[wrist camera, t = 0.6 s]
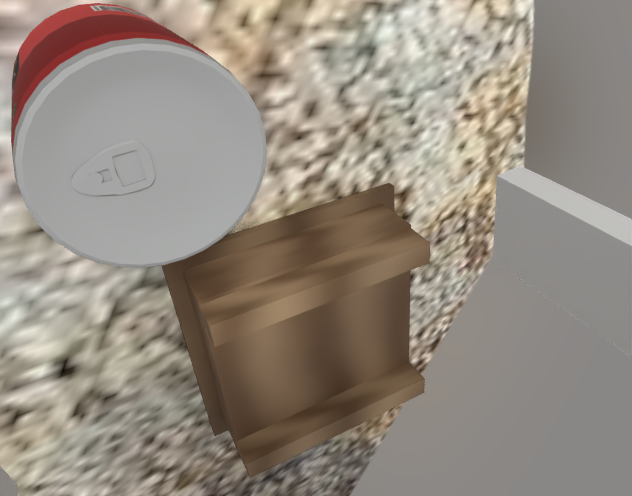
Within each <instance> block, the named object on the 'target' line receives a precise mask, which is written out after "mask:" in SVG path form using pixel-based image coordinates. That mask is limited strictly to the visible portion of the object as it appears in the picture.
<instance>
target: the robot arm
mask: <svg viewBox="0 0 632 496" xmlns="http://www.w3.org/2000/svg"><path fill="white" fill-rule="evenodd" d="M493 260H494V261H495V262H497V263H498V264H499V265H501V266H502V267H504V268H505V269H507V270H508V271H509V272H511V273H512V274H514V275H515V276H516V277H518V278H519V279H521V280H522V281H524V282H525V283H526V284H528V285H529V286H531V287H532V288H533V289H535V290H536V291H538V292H539V293H540V294H542V295H543V296H545V297H546V298H548V299H549V300H551V301H552V302H553V303H555V304H556V305H558V306H559V307H560V308H562V309H564V310H565V311H566V312H568V313H569V314H570V315H572V316H573V317H574V318H576V319H577V320H579V321H580V322H582V323H583V324H584V325H586V326H587V327H589V328H590V329H591V330H593V331H594V332H596V333H597V334H599V335H600V336H601V337H603V338H604V339H606V340H607V341H608V342H610V343H611V344H613V345H614V346H616V347H617V348H619V349H620V350H621V351H623V352H624V353H626V354H627V355H628V356H630V357H631V358H632V219H630V218H628V217H626V216H624V215H621V214H620V213H618V212H615V211H613V210H611V209H609V208H607V207H605V206H603V205H601V204H599V203H597V202H594V201H592V200H590V199H588V198H586V197H584V196H582V195H580V194H578V193H576V192H573V191H571V190H570V189H567V188H565V187H563V186H561V185H559V184H557V183H555V182H553V181H551V180H549V179H547V178H544V177H542V176H540V175H538V174H536V173H534V172H532V171H530V170H527V169H526V168H524V167H522V166H519V167H516V168H514V169H512V170H509V171H507V172H504V173H502V174H500V175H497V187H496V207H495V226H494V246H493ZM0 496H17V484H16V483H15V482H14V481H13V480H12V479H11V478H10V477H9V475H8V474H7V473H6V472H5V471H4V470H3V469H2V468H1V467H0Z"/></svg>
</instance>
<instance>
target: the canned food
mask: <svg viewBox="0 0 632 496" xmlns="http://www.w3.org/2000/svg"><path fill="white" fill-rule="evenodd" d="M11 143H12V155H13V164H14V172H15V178H16V181H17V183H18V186H19V189H20V192H21V194H22V197H23V199H24V202H25V205H26V207H27V208H28V210H29V211H30V213H31V214H32V216H33V217H34V219H35V220H36V222H37V223H38V225H39V226H40V227H41V228H42V229H43V230H44V231H45V232H47V233H48V234H49V235H50V236H51V237H52V238H53V239H54V240H55V241H56V242H58V243H59V244H61V245H62V246H64V247H65V248H67V249H69V250H70V251H72V252H73V253H75V254H77V255H80V256H82V257H85V258H87V259H90V260H92V261H95V262H98V263H103V264H108V265H113V266H118V267H138V268H143V267H151V266H159V265H165V264H169V263H172V262H176V261H179V260H183V259H186V258H188V257H190V256H192V255H195V254H197V253H199V252H201V251H203V250H205V249H207V248H208V247H210V246H211V245H213V244H214V243H216V242H217V241H219V240H220V239H222V238H223V237H224V236H225V235H226V234H227V233H228V232H229V231H230V230H231V229H233V228H234V227H235V226H236V225H237V224H238V222H239V221H240V220H241V219H242V217H243V216H244V215H245V213H246V212H247V211H248V210H249V208H250V206H251V204H252V202H253V201H254V199H255V197H256V195H257V193H258V191H259V188H260V185H261V182H262V179H263V175H264V172H265V164H266V155H267V148H266V137H265V130H264V127H263V124H262V120H261V117H260V114H259V111H258V109H257V108H256V106H255V104H254V102H253V100H252V98H251V97H250V95H249V93H248V92H247V91H246V90H245V88H244V87H243V86H242V85H241V84H240V83H239V81H238V80H237V79H236V78H235V77H234V76H233V74H232V73H231V72H230V71H229V70H227V69H226V68H225V67H224V66H222V65H221V64H220V63H218V62H217V61H216V60H214V59H213V58H212V57H210V56H209V55H208V54H206V53H205V52H204V51H202V50H201V49H199V48H197V47H196V46H194V45H193V44H191V43H189V42H188V41H186V40H185V39H183V38H181V37H180V36H178V35H177V34H175V33H173V32H172V31H170V30H169V29H167V28H165V27H164V26H162V25H160V24H159V23H157V22H156V21H154V20H152V19H151V18H149V17H147V16H145V15H143V14H141V13H139V12H137V11H135V10H132V9H128V8H125V7H121V6H118V5H111V4H100V3H95V4H85V5H77V6H74V7H71V8H68V9H65V10H61V11H59V12H57V13H56V14H54V15H52V16H50V17H49V18H47V19H45V20H44V21H43V22H41V23H40V24H39V25H38V26H37V27H36V28H35V29H34V30H33V31H32V32H31V33H30V34H29V35H28V37H27V38H26V40H25V41H24V43H23V44H22V46H21V47H20V50H19V52H18V55H17V58H16V60H15V63H14V70H13V78H12V127H11Z"/></svg>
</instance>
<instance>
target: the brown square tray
mask: <svg viewBox="0 0 632 496" xmlns="http://www.w3.org/2000/svg"><path fill="white" fill-rule="evenodd" d="M429 259H430V242H429V241H427V240H426V239H425V238H423V237H422V236H421V235H419V234H418V233H417V232H415V231H414V230H413V229H411V225H410V224H409V223H408V222H406V221H405V220H404V219H402V218H401V217H400V216H398V215H397V214H396V213H394V186H393V185H392V184H390V183H388V184H385V185H382V186H379V187H375V188H372V189H369V190H366V191H363V192H360V193H357V194H354V195H351V196H348V197H344V198H341V199H338V200H335V201H332V202H329V203H326V204H323V205H320V206H317V207H314V208H310V209H307V210H304V211H301V212H298V213H295V214H292V215H289V216H286V217H283V218H280V219H276V220H273V221H270V222H267V223H264V224H261V225H258V226H255V227H252V228H249V229H245V230H242V231H239V232H236V233H233V234H230V235H227V236H224V237H223V238H222V239H220V240H219V241H217V242H216V243H214V244H213V245H211V246H210V247H208V248H207V249H205V250H203V251H201V252H199V253H197V254H195V255H192V256H190V257H188V258H186V259H183V260H179V261H176V262H172V263H169V264H165V265H162V268H163V271H164V275H165V278H166V281H167V284H168V287H169V291H170V294H171V297H172V300H173V304H174V307H175V310H176V313H177V317H178V320H179V323H180V326H181V329H182V333H183V336H184V339H185V342H186V346H187V349H188V352H189V355H190V359H191V362H192V365H193V368H194V371H195V375H196V378H197V381H198V384H199V388H200V391H201V394H202V397H203V401H204V404H205V407H206V410H207V413H208V417H209V420H210V423H211V426H212V430H213V432H214V435H215V436H216V435H218V434H221V433H223V432H225V431H227V430H229V432H230V434H231V436H232V438H233V441H234V443H235V445H236V448H237V450H238V452H239V455H240V457H241V458H242V461H243V463H244V465H245V467H246V470H247V472H248V474H249V477H250V478H251V477H253V476H255V475H257V474H259V473H261V472H263V471H265V470H267V469H269V468H271V467H273V466H275V465H277V464H279V463H282V462H284V461H286V460H288V459H290V458H292V457H294V456H296V455H298V454H300V453H302V452H304V451H306V450H308V449H310V448H312V447H314V446H316V445H318V444H320V443H322V442H324V441H326V440H328V439H330V438H332V437H335V436H337V435H339V434H341V433H343V432H345V431H347V430H349V429H351V428H353V427H355V426H357V425H359V424H361V423H363V422H365V421H367V420H369V419H371V418H373V417H375V416H377V415H379V414H381V413H383V412H385V411H388V410H390V409H392V408H394V407H396V406H398V405H400V404H402V403H404V402H406V401H408V400H410V399H412V398H414V397H416V396H418V395H420V394H422V393H424V383H425V381H424V380H425V379H424V378H423V376H422V375H421V374H420V373H419V372H418V371H417V370H416V369H415V368H414V367H413V366H412V364H411V363H410V362H409V319H410V270H412V269H415V268H417V267H420V266H422V265H425V264H427V263H429Z"/></svg>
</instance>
